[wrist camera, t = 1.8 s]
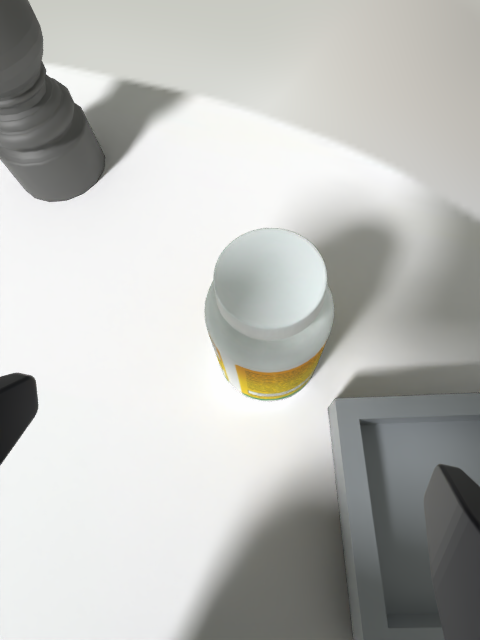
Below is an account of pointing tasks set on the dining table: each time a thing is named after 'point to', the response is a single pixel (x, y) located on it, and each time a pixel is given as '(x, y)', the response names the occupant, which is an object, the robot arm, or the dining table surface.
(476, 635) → the robot arm
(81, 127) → the candle holder
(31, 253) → the dining table surface
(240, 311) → the supplement bottle
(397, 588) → the tray
